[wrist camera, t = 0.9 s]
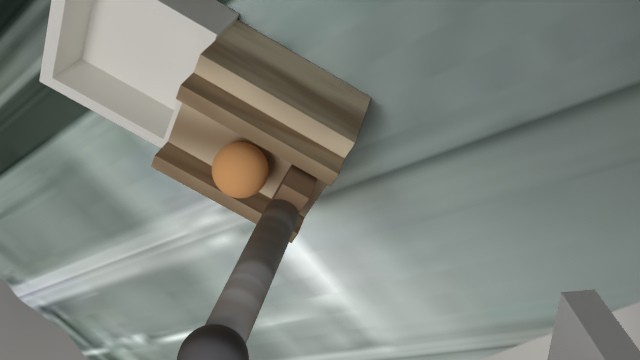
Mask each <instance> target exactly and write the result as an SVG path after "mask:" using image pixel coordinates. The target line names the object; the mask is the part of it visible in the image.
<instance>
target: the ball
mask: <svg viewBox="0 0 640 360" xmlns="http://www.w3.org/2000/svg"><path fill="white" fill-rule="evenodd" d="M268 172H269V169H268V163H267V160H266V158H265V156H264V154H263V153H262V152H261V151H260V150H259V149H258V148H257V147H255V146H254V145H252V144H249V143H245V142H235V143H231V144H229V145H227V146H225V147H223V148H222V149H221V150H220V151H219V152H218V153H217V155H216V156H215V158H214V161H213V164H212V177H213V180H214V182H215V184H216V186H217V187H218V188H219V189H220V190H221V191H222V192H223V193H224V194H226V195H228V196H230V197H234V198H247V197H250V196H253V195H255V194H256V193H257V192H259V191H260V190H261V189H262V188H263V186H264V185H265V183H266V181H267V178H268Z"/></svg>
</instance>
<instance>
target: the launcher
mask: <svg viewBox="0 0 640 360" xmlns="http://www.w3.org/2000/svg"><path fill="white" fill-rule="evenodd" d="M176 99H177V100H179V101H181V102H182V104H181V107H180V110H179V112H178V115H177V118H176V120H175V123H174V126H173V128H172V131H171V134H170V136H169V139H168V142H167V143H166V144H165V145H164V146H163V147H162V148H161V149H160V151H159V152H158V153H157V154H156V155H155V157H154V160H153V163H152V165H151V167H153V168H155V169H156V170H158V171H160V172H162V173H164V174H166V175H167V176H169V177H171V178H173V179H175V180H177V181H178V182H180V183H182V184H184V185H186V186H188V187H189V188H191V189H193V190H195V191H197V192H199V193H200V194H202V195H204V196H206V197H208V198H210V199H211V200H213V201H215V202H217V203H219V204H221V205H222V206H224V207H226V208H228V209H230V210H232V211H233V212H235V213H237V214H239V215H241V216H243V217H244V218H246V219H248V220H250V221H252V222H254V223H255V224H257V223H258V221H259V219H260V217H261V215H262V213H263V211H264V209H265V207H266V206H267V204H268V203H269V202H270V201H271V199H272V197H273V195H274V193H275V192H276V190H277V188H278V187H279V185H280V183H281V182H282V180H283V178H284V176H285V175H286V173H287V171H288V170H289V168H290V166H291V165H292V164H293V165H294V166H296V167H298V168H300V169H302V170H303V171H305V172H307V173H309V174H310V175H312V176H314V177H316V178H317V181H316V183H315V185H314V188H313V190H312V193H311V195H310V197H309V199H308V201H307V202H306V204H305V205H304V207H303V208H302V210H301V211H300V213H299V219H298V221H297V224H296V226H295V228H294V231H293V233H292V236H291V238H290V240H289V242H290V243H292V242H293V240H294V239H295V237H296V236H297V234H298V232H299V230H300V227H301V225H302V223H303V220H304V218H305V216H306V214H307V213H308V212H309V210H310V209H311V207H312V206H313V204H314V203H315V201H316V200H317V198H318V197H319V195H320V194H321V192H322V191H323V189H324V188H325V187H326V185H327V184H328V185H330V186H331V185H332V183H333V182H334V181H335V179H336V178H337V176H338V175H339V172H340V170H341V167H342V164H343V161H344V159H345V157H346V156H347V154H348V153H349V151H350V150H351V148H352V147H353V145H354V144H355V142H356V139H357V136H358V133H359V130H360V128H361V125H362V122H363V119H364V116H365V113H366V111H367V108H368V105H369V102H370V99H371V97H369V96H367V95H366V94H364V93H362V92H361V91H359V90H357V89H355V88H354V87H352V86H350V85H349V84H347V83H345V82H343V81H342V80H340V79H338V78H337V77H335V76H333V75H331V74H330V73H328V72H326V71H325V70H323V69H321V68H319V67H318V66H316V65H314V64H313V63H311V62H309V61H308V60H306V59H304V58H302V57H301V56H299V55H297V54H296V53H294V52H292V51H290V50H289V49H287V48H285V47H284V46H282V45H280V44H278V43H277V42H275V41H273V40H272V39H270V38H268V37H266V36H265V35H263V34H261V33H260V32H258V31H256V30H255V29H253V28H251V27H249V26H248V25H246V24H244V23H243V22H241V21H239V20H237V21H235V22H234V23H233V24H232V25H231V26H230V27H229V28H228V29H227V30H226V31H225V32H224V33H223V34H221V35H220V36H219V37H218V38H217V39H216V40H215V41H214V42H213V43H212V44H211V45H210V46H209V47H207V48H206V49H205V50H204V51H203V52H202V53H201V54H200V56H199V59H198V62H197V64H196V67H195V70H194V72H193V73H192V74H191V75H190V76H189V77H188V78H187V79H186V80H185V81H184V82H183V83H182V84H181V85H180V88H179V91H178V94H177V96H176ZM235 142H245V143H249V144H252V145H254V146H255V147H257V148H258V149H259V150H260V151H261V152H262V153H263V154H264V156H265V158H266V160H267V163H268V169H269V172H268V178H267V181H266V183H265V185H264V186H263V188H262V189H261V190H260V191H259V192H257V193H256V194H255V195H253V196H250V197H247V198H234V197H230V196H228V195H226V194H224V193H223V192H222V191H221V190H220V189H219V188H218V187H217V186H216V184H215V182H214V180H213V177H212V164H213V161H214V158H215V156H216V155H217V153H218V152H219V151H220V150H221V149H222V148H223V147H225V146H227V145H229V144H231V143H235Z"/></svg>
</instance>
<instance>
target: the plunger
mask: <svg viewBox="0 0 640 360" xmlns="http://www.w3.org/2000/svg"><path fill="white" fill-rule="evenodd" d="M316 181H317V178H316V177H314V176H312V175H310V174H309V173H307V172H305V171H303V170H302V169H300V168H298V167H296V166H294V165H293V164H292V165H291V166H290V168H289V170H288V171H287V173H286V175H285V176H284V178H283V180H282V182H281V183H280V185H279V187H278V188H277V190H276V192H275V193H274V195H273V197H272V199H271V201H270V202H269V203H268V204H267V206H266V207H265V209H264V211H263V213H262V215H261V217H260V219H259V221H258V223H257V225H256V227H255V229H254V231H253V233H252V235H251V237H250V239H249V241H248V242H247V244H246V246H245V248H244V250H243V252H242V254H241V256H240V258H239V260H238V262H237V264H236V266H235V268H234V270H233V272H232V274H231V275H230V277H229V279H228V281H227V283H226V285H225V287H224V289H223V291H222V293H221V295H220V297H219V299H218V301H217V303H216V305H215V307H214V309H213V310H212V312H211V314H210V316H209V318H208V320H207V322H206V324H205V326H202V327H200V328H198V329H196V330H194V331H193V332H192V333H191V334H189V335H188V336H187V338H186V339H185V340H184V342H183V343H182V345H181V347H180V349H179V352H178V356H177V360H249V355H248V350H247V346H246V342H247V340H248V337H249V335H250V333H251V330H252V328H253V325H254V323H255V321H256V318H257V316H258V314H259V311H260V309H261V307H262V304H263V302H264V299H265V297H266V295H267V292H268V290H269V288H270V285H271V283H272V280H273V278H274V276H275V273H276V271H277V269H278V266H279V264H280V262H281V259H282V257H283V254H284V252H285V250H286V247H287V245H288V243H289V240H290V238H291V236H292V233H293V231H294V228H295V226H296V224H297V221H298V219H299V213H300V211H301V210H302V208H303V207H304V205H305V204H306V202H307V201H308V199H309V197H310V195H311V193H312V190H313V188H314V185H315V183H316Z"/></svg>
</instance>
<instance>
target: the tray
mask: <svg viewBox="0 0 640 360" xmlns="http://www.w3.org/2000/svg"><path fill="white" fill-rule="evenodd" d="M239 15H240V14H239V13H237V12H235V11H234V10H232V9H230V8H229V7H227V6H225V5H223V4H222V3H220V2H218V1H217V0H52V1H51V8H50V14H49V21H48V27H47V34H46V41H45V47H44V54H43V60H42V67H41V74H40V80H39V81H40V82H42V83H44V84H45V85H47V86H49V87H51V88H53V89H55V90H56V91H58V92H60V93H62V94H64V95H65V96H67V97H69V98H71V99H73V100H75V101H76V102H78V103H80V104H82V105H84V106H85V107H87V108H89V109H91V110H93V111H95V112H96V113H98V114H100V115H102V116H104V117H105V118H107V119H109V120H111V121H113V122H115V123H116V124H118V125H120V126H122V127H124V128H125V129H127V130H129V131H131V132H133V133H134V134H136V135H138V136H140V137H142V138H144V139H145V140H147V141H149V142H151V143H153V144H154V145H156V146H158V147H160V148H162V147H163V146H164V145H165V144H166V143H167V142H168V139H169V136H170V134H171V131H172V128H173V126H174V123H175V120H176V118H177V115H178V112H179V110H180V107H181V104H182V102H181V101H179V100H177V99H176V96H177V94H178V91H179V88H180V85H181V84H182V83H183V82H184V81H185V80H186V79H187V78H188V77H189V76H190V75H191V74H192V73H193V72H194V70H195V67H196V64H197V62H198V59H199V56H200V54H201V53H202V52H203V51H204V50H205V49H206V48H207V47H209V46H210V45H211V44H212V43H213V42H214V41H215V40H216V39H217V38H218V37H219V36H220V35H221V34H223V33H224V32H225V31H226V30H227V29H228V28H229V27H230V26H231V25H232V24H233V23H234V22H235V21H237V20H238V17H239Z"/></svg>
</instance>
